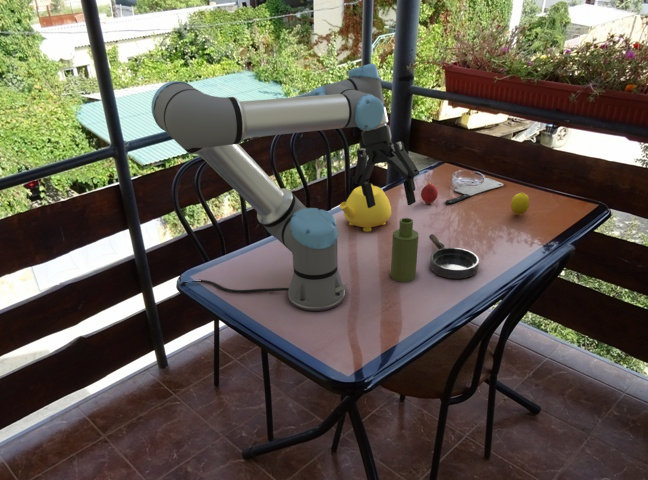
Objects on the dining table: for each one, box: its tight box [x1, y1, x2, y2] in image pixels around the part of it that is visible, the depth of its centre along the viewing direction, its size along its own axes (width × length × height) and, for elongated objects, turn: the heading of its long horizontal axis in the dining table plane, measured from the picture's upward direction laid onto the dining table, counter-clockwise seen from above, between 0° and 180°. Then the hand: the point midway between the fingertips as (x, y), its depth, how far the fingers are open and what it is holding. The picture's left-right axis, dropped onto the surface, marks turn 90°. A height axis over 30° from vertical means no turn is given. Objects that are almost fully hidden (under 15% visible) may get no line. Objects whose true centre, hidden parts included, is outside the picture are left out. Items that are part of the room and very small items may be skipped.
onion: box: [420, 181, 439, 205], centre depth 196 cm, size 6×6×8 cm
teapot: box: [339, 182, 392, 232], centre depth 182 cm, size 20×16×14 cm
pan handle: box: [428, 233, 447, 250], centre depth 167 cm, size 2×10×2 cm, turn 10°
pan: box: [429, 247, 480, 280], centre depth 158 cm, size 13×13×3 cm
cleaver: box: [445, 177, 504, 205], centre depth 205 cm, size 29×1×10 cm
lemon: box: [510, 192, 530, 216], centre depth 184 cm, size 6×6×8 cm
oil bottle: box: [390, 217, 420, 283], centre depth 153 cm, size 7×7×17 cm
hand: (391, 205), depth 153 cm, fingers open, 13 cm apart
